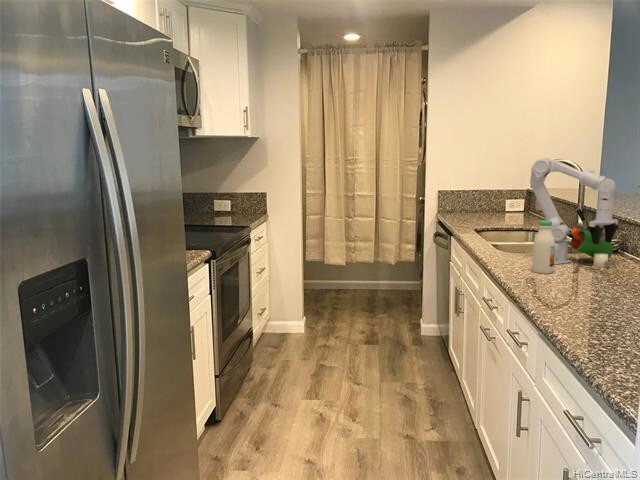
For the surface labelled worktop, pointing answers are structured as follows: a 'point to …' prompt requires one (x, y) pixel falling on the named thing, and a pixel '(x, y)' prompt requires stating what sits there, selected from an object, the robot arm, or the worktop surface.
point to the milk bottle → (544, 249)
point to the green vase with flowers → (588, 243)
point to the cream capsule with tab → (601, 260)
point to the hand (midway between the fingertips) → (602, 243)
